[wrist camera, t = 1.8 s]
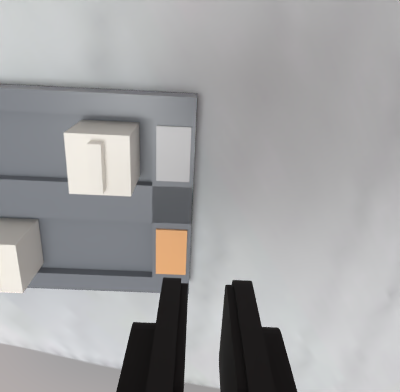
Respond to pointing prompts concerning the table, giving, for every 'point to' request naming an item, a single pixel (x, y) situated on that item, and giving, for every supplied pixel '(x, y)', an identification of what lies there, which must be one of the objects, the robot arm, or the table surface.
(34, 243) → the tab
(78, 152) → the tab
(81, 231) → the switch board
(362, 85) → the table surface
